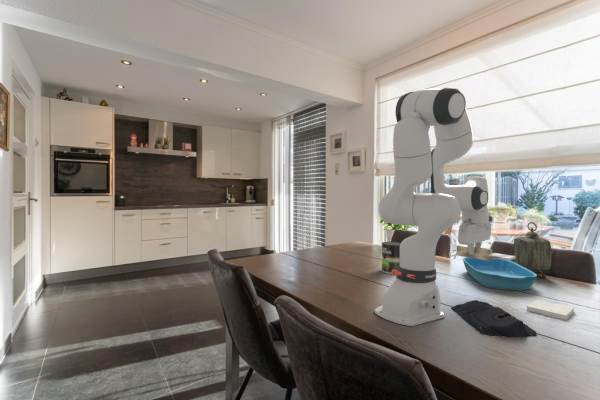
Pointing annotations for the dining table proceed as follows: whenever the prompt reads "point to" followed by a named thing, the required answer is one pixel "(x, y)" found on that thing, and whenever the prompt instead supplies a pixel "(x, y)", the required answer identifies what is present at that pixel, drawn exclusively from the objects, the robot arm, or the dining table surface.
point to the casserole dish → (499, 273)
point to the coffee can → (390, 256)
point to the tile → (551, 309)
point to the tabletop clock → (532, 251)
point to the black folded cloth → (492, 320)
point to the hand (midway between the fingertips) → (474, 253)
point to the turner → (482, 253)
